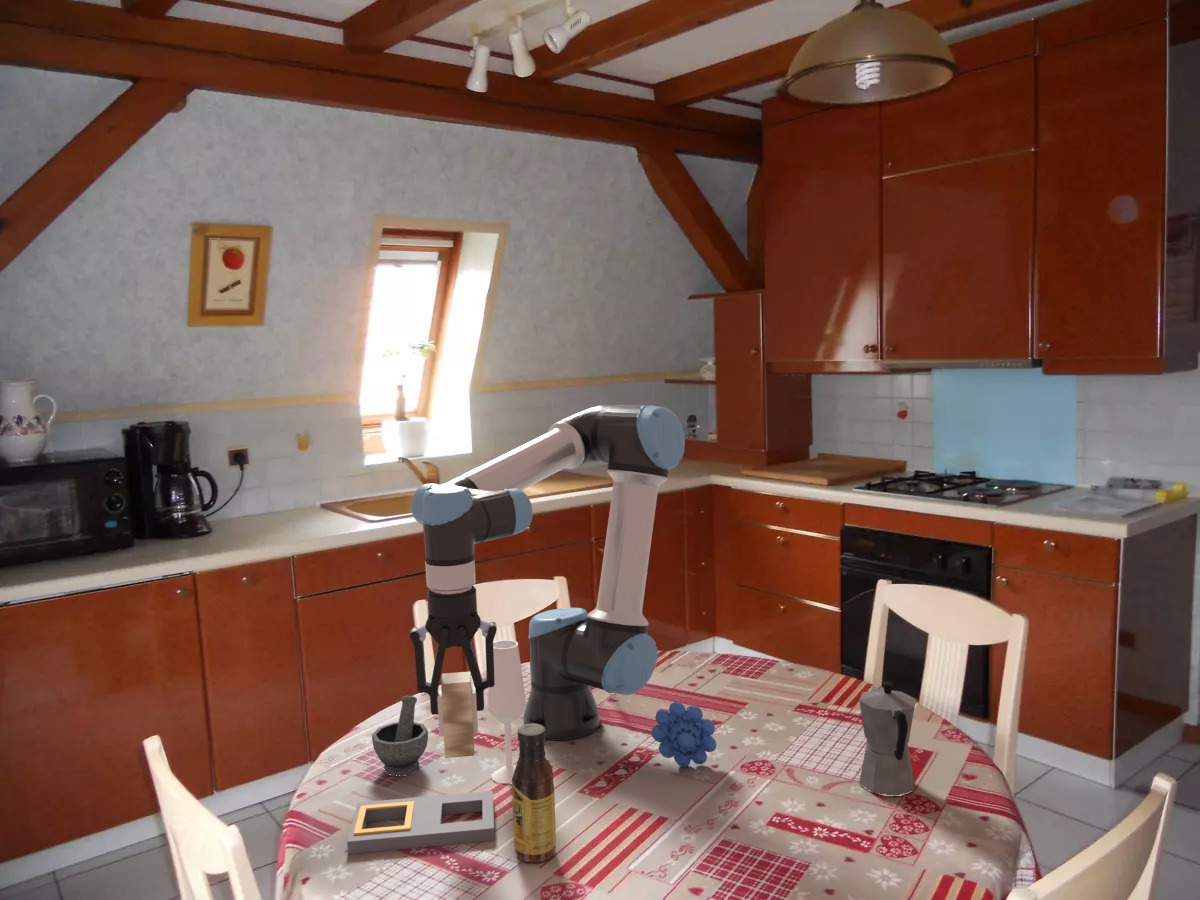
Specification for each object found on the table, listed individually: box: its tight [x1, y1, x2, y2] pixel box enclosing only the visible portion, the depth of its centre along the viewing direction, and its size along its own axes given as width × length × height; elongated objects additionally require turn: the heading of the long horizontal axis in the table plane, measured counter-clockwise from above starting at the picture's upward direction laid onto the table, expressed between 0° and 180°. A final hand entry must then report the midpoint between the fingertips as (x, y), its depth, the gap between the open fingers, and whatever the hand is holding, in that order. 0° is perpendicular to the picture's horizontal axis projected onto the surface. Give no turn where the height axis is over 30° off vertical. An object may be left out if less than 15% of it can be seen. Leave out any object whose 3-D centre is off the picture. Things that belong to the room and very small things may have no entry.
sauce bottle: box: [511, 723, 557, 864], centre depth 137 cm, size 6×6×20 cm
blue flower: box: [650, 701, 717, 768], centre depth 163 cm, size 12×7×12 cm, turn 93°
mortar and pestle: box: [371, 695, 429, 777], centre depth 167 cm, size 11×9×12 cm
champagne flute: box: [487, 639, 527, 783], centre depth 162 cm, size 7×7×24 cm
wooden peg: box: [440, 671, 475, 759], centre depth 145 cm, size 4×4×12 cm
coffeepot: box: [858, 681, 917, 796], centre depth 154 cm, size 15×9×18 cm, turn 179°
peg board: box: [346, 790, 496, 855], centre depth 147 cm, size 22×12×2 cm, turn 97°
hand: (458, 731), depth 146 cm, fingers closed on wooden peg, 4 cm apart
